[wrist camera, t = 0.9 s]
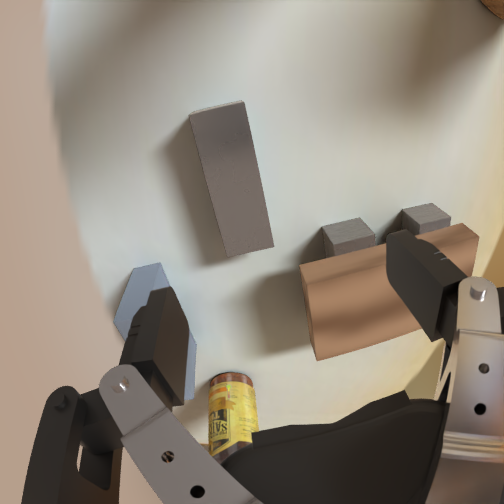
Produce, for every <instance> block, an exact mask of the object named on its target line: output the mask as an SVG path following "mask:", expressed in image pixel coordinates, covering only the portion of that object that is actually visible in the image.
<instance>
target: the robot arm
mask: <svg viewBox="0 0 504 504" xmlns="http://www.w3.org/2000/svg"><path fill="white" fill-rule="evenodd" d="M386 273H387V278H388V281H389V283H390V285H391V286H392V287H393V289H394V290H395V291H396V293H397V294H398V295H399V297H400V298H401V299H402V301H403V302H404V304H405V305H406V306H407V308H408V309H409V310H410V312H411V313H412V315H413V316H414V317H415V319H416V320H417V322H418V323H419V324H420V326H421V327H422V329H423V330H424V332H425V333H426V334H427V336H428V337H429V339H430V340H431V342H433V341H436V340H438V339H440V338H444V340H445V345H444V349H443V356H442V362H441V368H440V373H439V379H438V384H437V388H436V392H435V396H434V399H433V400H432V399H409V398H408V396H407V394H406V392H405V390H403V391H401V392H398V393H396V394H393V395H390V396H387V397H385V398H382V399H379V400H376V401H373V402H370V403H369V404H367V405H365V406H364V407H362V408H360V409H358V410H357V411H355V412H353V413H352V414H350V415H348V416H346V417H344V418H343V419H341V420H339V421H337V422H335V423H331V424H310V425H287V426H283V427H278V428H273V429H268V430H262V431H257V432H251V436H252V443H251V444H248V445H246V446H244V447H242V448H240V449H238V450H237V451H235V452H234V453H232V454H231V455H229V456H228V457H227V458H226V459H225V460H223V461H222V462H221V463H220V464H219V463H218V462H217V461H216V460H215V459H214V458H213V457H212V456H211V455H210V454H209V453H208V452H207V451H206V450H205V449H204V448H203V447H202V446H201V445H200V444H199V443H198V442H197V441H196V440H195V438H194V437H193V436H192V435H191V434H190V433H189V432H188V431H187V430H186V429H185V427H184V426H183V425H182V424H181V423H180V422H179V421H178V419H177V418H176V417H175V416H174V415H173V414H172V407H173V406H181V405H184V395H185V381H186V368H187V356H188V344H189V325H188V322H187V319H186V316H185V314H184V312H183V310H182V308H181V305H180V303H179V301H178V299H177V296H176V294H175V292H174V290H173V288H172V287H171V286H169V287H164V288H160V289H156V290H152V291H150V294H149V297H148V301H147V304H146V306H141V307H140V309H139V310H138V311H137V312H136V314H135V315H134V316H133V319H132V322H131V325H130V329H129V332H128V337H127V338H126V341H125V345H124V348H123V351H122V355H121V359H120V363H119V365H118V366H116V367H114V368H112V369H110V370H109V371H108V372H107V373H106V374H105V375H104V376H103V378H102V379H101V381H100V384H99V388H97V389H95V390H92V391H89V392H87V393H84V394H81V395H80V394H79V393H78V392H77V391H76V390H75V389H74V388H73V387H71V386H63V387H60V388H58V389H56V390H55V391H54V392H53V393H52V394H51V395H50V396H49V397H48V399H47V401H46V404H45V407H44V410H43V413H42V417H41V420H40V423H39V427H38V431H37V434H36V438H35V441H34V445H33V449H32V453H31V457H30V462H29V466H28V470H27V475H26V480H25V485H24V491H23V496H22V502H21V504H119V487H120V472H121V460H122V449H123V447H125V449H126V450H127V452H128V453H129V455H130V456H131V458H132V460H133V461H134V463H135V464H136V466H137V467H138V469H139V470H140V472H141V473H142V475H143V476H144V478H145V479H146V481H147V482H148V483H149V485H150V486H151V488H152V489H153V490H154V492H155V493H156V494H157V496H158V497H159V498H160V500H161V501H162V502H163V504H504V287H501V288H496V287H495V285H494V284H493V283H492V282H490V281H489V280H487V279H485V278H482V277H468V276H467V275H466V274H465V273H464V272H463V271H462V270H460V269H459V268H458V267H457V266H456V265H455V264H454V263H453V262H452V261H451V260H450V259H449V258H448V259H447V257H446V256H445V255H444V254H443V253H442V252H440V250H439V249H438V248H436V247H435V246H434V245H433V244H432V243H429V242H427V241H425V240H423V239H417V238H416V237H415V236H414V235H413V234H412V233H411V232H410V231H408V230H407V229H405V230H401V231H397V232H393V233H389V234H388V235H387V238H386ZM80 445H81V446H83V449H82V455H81V462H80V469H79V472H78V469H77V457H78V451H79V446H80Z"/></svg>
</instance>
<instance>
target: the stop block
mask: <svg viewBox="0 0 504 504" xmlns="http://www.w3.org/2000/svg"><path fill="white" fill-rule="evenodd" d="M169 286H170V285H169V282H168V280H167V277H166V275H165V273H164V270H163V268H162V265H161V263H156V264H152V265H147V266H143V267H139V268H134V269H133V272H132V274H131V277H130V279H129V282H128V284H127V287H126V289H125V292H124V294H123V297H122V300H121V302H120V305H119V307H118V310H117V313H116V315H115V318H114V321H113V322H114V324H115V326H116V327H117V329H118V331H119V332H120V334H121V335H122V337H123V339H124V340H125V341H126V338H127V337H128V332H129V329H130V325H131V322H132V319H133V316H134V315H135V314H136V312H137V311H138V310H139V309H140V307H141V306H146V304H147V301H148V297H149V294H150V291H152V290H156V289H160V288H164V287H169ZM196 346H197V344H196V342H195V340H194V338H193V336H192V334H191V332H190V330H189V344H188V356H187V368H186V381H185V395H184V400H191V399H194V385H195V364H196Z"/></svg>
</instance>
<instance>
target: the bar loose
mask: <svg viewBox="0 0 504 504" xmlns="http://www.w3.org/2000/svg"><path fill="white" fill-rule="evenodd" d="M189 118H190V122H191V126H192V130H193V134H194V137H195V141H196V145H197V149H198V153H199V156H200V160H201V164H202V168H203V171H204V175H205V179H206V182H207V186H208V190H209V193H210V197H211V201H212V204H213V208H214V211H215V215H216V219H217V222H218V226H219V229H220V233H221V236H222V240H223V243H224V247H225V250H226V254H227V257H231V256H236V255H240V254H245V253H249V252H254V251H258V250H263V249H267V248H272V247H274V243H273V238H272V233H271V228H270V223H269V218H268V213H267V208H266V203H265V198H264V193H263V188H262V183H261V178H260V173H259V169H258V164H257V159H256V154H255V150H254V145H253V140H252V135H251V131H250V126H249V122H248V117H247V112H246V108H245V103H244V102H243V101H242V100H241V101H236V102H231V103H227V104H222V105H218V106H214V107H210V108H206V109H202V110H198V111H194V112H192V113H191V114H190V115H189Z"/></svg>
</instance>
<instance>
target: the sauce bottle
mask: <svg viewBox="0 0 504 504" xmlns="http://www.w3.org/2000/svg"><path fill="white" fill-rule="evenodd" d="M257 431H259V427H258V417H257V407H256V398H255V391H254V389H253V383H252V381H251V379H250V378H249V377H248V376H246V375H244V374H241V373H234V372H229V373H224V374H221V375H218V376H216V377H215V378H214V379H213V380H212V381H211V384H210V390H209V433H208V435H209V436H208V438H209V454H210V455H211V456H212V457H213V458H214V459H215V460H216V461H217V462H218V463H219V464H220V463H221V462H222V461H223V460H225V459H226V458H227V457H228V456H229V455H231V454H232V453H234V452H235V451H237V450H238V449H240V448H242V447H244V446H246V445H248V444H251V443H252V436H251V432H257Z"/></svg>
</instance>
